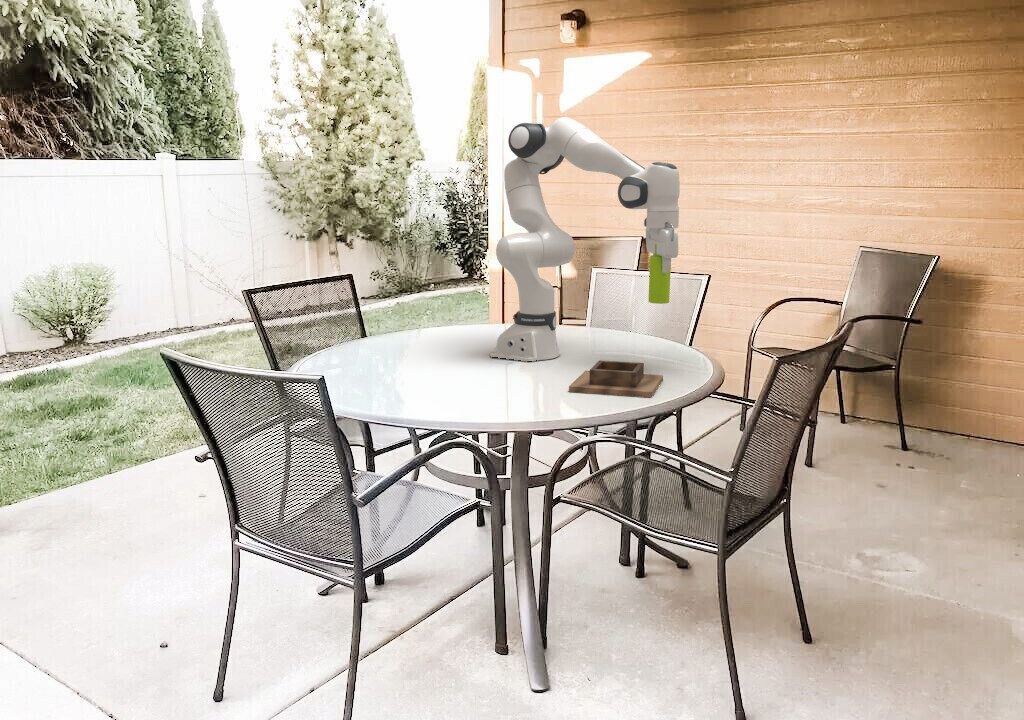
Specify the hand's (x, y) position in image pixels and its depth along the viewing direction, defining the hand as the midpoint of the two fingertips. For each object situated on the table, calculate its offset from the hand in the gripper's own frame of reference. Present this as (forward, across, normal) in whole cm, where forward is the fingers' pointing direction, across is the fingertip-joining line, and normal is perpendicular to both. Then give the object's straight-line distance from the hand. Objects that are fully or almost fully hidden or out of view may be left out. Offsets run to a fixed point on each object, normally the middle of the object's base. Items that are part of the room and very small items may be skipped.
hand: (661, 270), depth 222 cm
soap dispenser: (+9, 0, 0) cm, 9 cm away
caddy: (+29, -17, +16) cm, 37 cm away
